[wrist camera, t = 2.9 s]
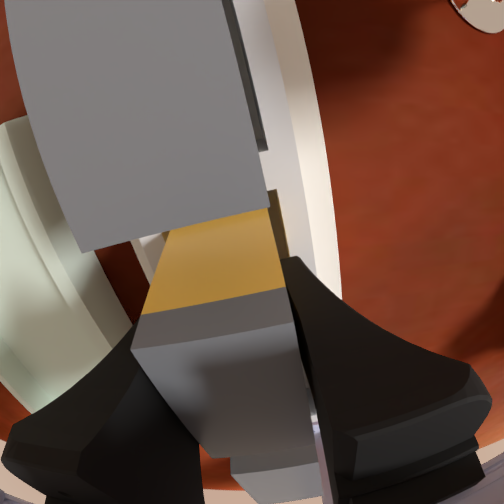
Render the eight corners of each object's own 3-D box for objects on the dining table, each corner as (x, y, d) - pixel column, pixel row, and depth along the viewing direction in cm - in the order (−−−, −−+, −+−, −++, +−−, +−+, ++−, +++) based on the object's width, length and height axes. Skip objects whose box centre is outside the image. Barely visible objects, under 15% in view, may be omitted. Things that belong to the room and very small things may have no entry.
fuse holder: (343, 385, 19) (352, 419, 17) (220, 408, 19) (220, 442, 17) (274, -56, 7) (284, -85, 5) (65, 9, 8) (29, -1, 6)
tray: (179, 398, 19) (175, 431, 16) (56, 402, 19) (47, 428, 17) (40, 111, 10) (4, 122, 8) (-76, 194, 11) (-103, 212, 8)
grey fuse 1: (249, 129, 10) (270, 207, 4) (164, 151, 11) (81, 253, 5) (215, -5, 8) (189, -112, 2) (128, 22, 8) (2, -25, 2)
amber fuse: (285, 295, 14) (315, 443, 8) (217, 309, 14) (212, 458, 8) (261, 185, 11) (293, 321, 5) (179, 204, 12) (130, 349, 5)
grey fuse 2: (302, 385, 17) (323, 495, 11) (251, 394, 18) (259, 505, 12) (291, 325, 15) (318, 461, 9) (229, 337, 15) (230, 474, 9)
